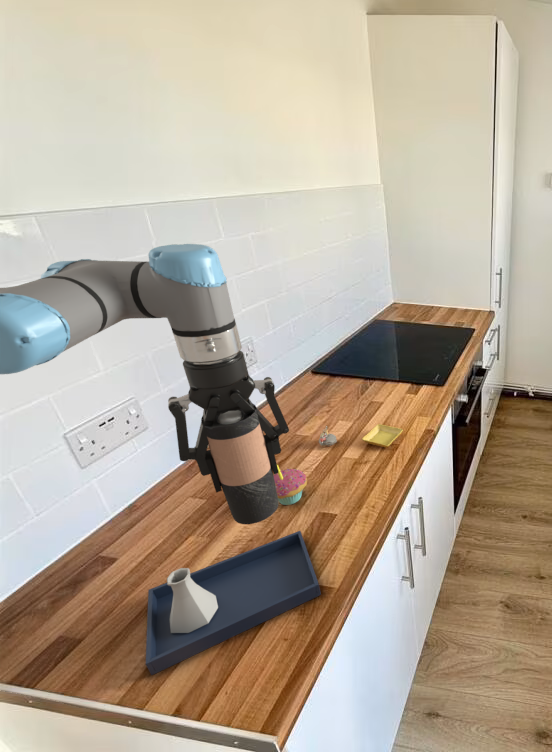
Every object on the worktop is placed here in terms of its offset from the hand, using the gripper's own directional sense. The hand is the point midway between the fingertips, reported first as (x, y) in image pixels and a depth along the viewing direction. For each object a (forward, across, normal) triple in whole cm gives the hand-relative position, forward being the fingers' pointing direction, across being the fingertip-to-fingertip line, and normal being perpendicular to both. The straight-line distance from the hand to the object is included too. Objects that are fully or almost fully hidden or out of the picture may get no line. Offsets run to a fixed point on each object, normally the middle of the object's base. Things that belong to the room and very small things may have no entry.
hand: (247, 477), depth 73 cm
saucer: (+25, +34, +32) cm, 53 cm away
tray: (+25, -6, -1) cm, 26 cm away
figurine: (+25, +20, +39) cm, 50 cm away
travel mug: (+7, 0, 0) cm, 7 cm away
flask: (+25, -13, -1) cm, 28 cm away
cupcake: (+25, +7, +22) cm, 34 cm away
